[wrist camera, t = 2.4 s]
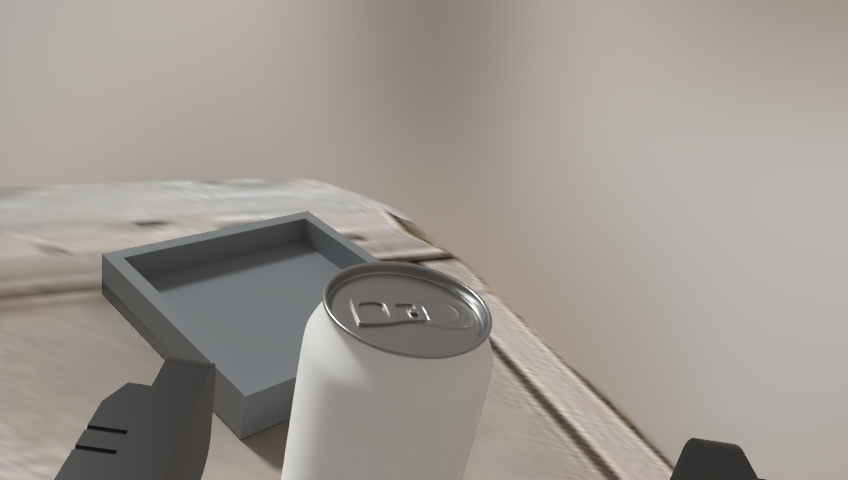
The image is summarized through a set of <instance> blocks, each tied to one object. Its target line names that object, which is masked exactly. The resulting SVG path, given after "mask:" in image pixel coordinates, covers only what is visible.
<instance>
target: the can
mask: <svg viewBox="0 0 848 480" xmlns="http://www.w3.org/2000/svg"><path fill="white" fill-rule="evenodd" d="M491 328H492V317H491V313H490V311H489V309H488V307H487V305H486V304H485V302H484V301H483V300H482V298H481V297H480V296H479V295H478V294H477V293H476V292H474V291H473V290H472V289H471V288H469V287H468V286H467V285H465V284H463V283H462V282H460V281H458V280H457V279H455V278H453V277H451V276H449V275H446V274H444V273H442V272H439V271H436V270H433V269H430V268H427V267H423V266H419V265H414V264H409V263H402V262H389V261H379V262H367V263H361V264H357V265H353V266H350V267H347V268H345V269H343V270H341V271H339V272H337V273H336V274H334V275H333V276H332V277H331V278H330V279H329V280H328V282H327V283H326V285H325V287H324V289H323V294H322V302H321V303H320V304H319V305H318V307H317V308H316V309H315V311H314V312H313V313H312V315H311V317H310V318H309V320H308V322H307V325H306V328H305V332H304V336H303V341H302V346H301V352H300V358H299V365H298V371H297V377H296V384H295V390H294V397H293V403H292V410H291V417H290V423H289V430H288V437H287V444H286V450H285V457H284V464H283V471H282V477H281V480H462V478H463V475H464V471H465V468H466V464H467V461H468V457H469V454H470V450H471V447H472V443H473V440H474V436H475V433H476V429H477V426H478V422H479V419H480V415H481V411H482V408H483V404H484V401H485V397H486V393H487V390H488V386H489V382H490V378H491V373H492V366H493V357H492V350H491V346H490V342H489V338H488V336H489V334H490V332H491Z"/></svg>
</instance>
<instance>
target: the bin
mask: <svg viewBox="0 0 848 480" xmlns="http://www.w3.org/2000/svg"><path fill="white" fill-rule="evenodd" d="M367 262H379V260H378V259H376V258H375V257H373V256H372V255H371V254H369V253H368V252H366V251H365V250H363V249H362V248H360V247H359V246H357V245H356V244H354V243H353V242H352V241H350V240H349V239H347V238H346V237H344V236H343V235H341V234H340V233H338V232H337V231H336V230H334V229H333V228H331V227H330V226H328V225H327V224H325V223H324V222H322V221H321V220H320V219H318V218H317V217H315V216H314V215H312V214H311V213H309V212H308V211H307V212H302V213H297V214H292V215H288V216H283V217H278V218H273V219H268V220H264V221H259V222H254V223H249V224H245V225H240V226H235V227H230V228H225V229H221V230H216V231H211V232H206V233H201V234H197V235H192V236H187V237H182V238H177V239H173V240H168V241H163V242H158V243H153V244H149V245H144V246H139V247H134V248H130V249H125V250H120V251H115V252H110V253H106V254H102V294H103V295H104V296H105V297H106V298H107V299H108V300H109V301H110V302H111V303H112V304H113V305H114V306H115V307H116V308H117V309H118V311H119V312H120V313H121V314H122V315H123V316H124V317H125V318H126V319H127V320H128V321H129V322H130V323H131V324H132V325H133V326H134V327H135V329H136V330H137V331H138V332H139V333H140V334H141V335H142V336H143V337H144V338H145V339H146V340H147V341H148V342H149V343H150V344H151V345H152V347H153V348H154V349H155V350H156V351H157V352H158V353H159V354H160V355H161V356H162V357H163V358H164V359H165V360H166V359H167V358H168V357H169V356H171V357H178V358H184V359H191V360H197V361H204V362H210V363H215V365H216V378H215V390H214V401H213V411H214V412H215V413H216V414H217V415H218V416H219V418H220V419H221V420H222V421H223V422H224V423H225V424H226V425H227V426H228V427H229V428H230V429H231V430H232V431H233V432H234V433H235V434H236V436H237V437H238V438H239V439H240V440H241V439H244V438H246V437H248V436H251V435H253V434H255V433H258V432H260V431H262V430H264V429H267V428H269V427H271V426H274V425H276V424H278V423H281V422H283V421H285V420H287V419H290V417H291V410H292V403H293V397H294V390H295V384H296V377H297V371H298V365H299V358H300V352H301V346H302V341H303V336H304V332H305V328H306V325H307V322H308V320H309V318H310V317H311V315H312V313H313V312H314V311H315V309H316V308H317V307H318V305H319V304H320V303H321V302H322V294H323V289H324V287H325V285H326V283H327V282H328V280H329V279H330V278H331V277H332V276H333V275H334V274H336V273H337V272H339V271H341V270H343V269H345V268H347V267H350V266H353V265H357V264H361V263H367Z"/></svg>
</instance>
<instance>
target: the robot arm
mask: <svg viewBox="0 0 848 480" xmlns="http://www.w3.org/2000/svg"><path fill="white" fill-rule="evenodd" d="M215 378H216V365H215V363H210V362H204V361H197V360H191V359H184V358H178V357H171V356H169V357H168V358H167V359H166V361H165V362H164V364H163V366H162V368H161V370H160V372H159V374H158V375H157V377H156V379H155V381H154V383H153V385H152V386H148V385H142V384H135V383H127V384H125V385H124V386H123V387H121V388H120V389H118V390H117V391H116V392H114V393H113V394H111V395H110V396H109V397H107V398H106V399H104V400H103V401H102V402H101V404H100V406H99V407H98V409H97V411H96V412H95V414H94V415H93V417H92V419H91V420H90V422H89V424H88V427H87V430H84V432H83V433H82V435H81V437H80V438H79V440H78V442H77V443H76V446H75V449H74V450H72V451H71V453H70V455H69V456H68V458H67V460H66V461H65V463H64V464H63V466H62V468H61V469H60V471H59V473H58V474H57V476H56V478H55V479H54V480H200V479H201V477H202V474H203V471H204V467H205V463H206V459H207V455H208V450H209V444H210V437H211V425H212V413H213V401H214V390H215ZM670 480H765V479H758V478H757V476H756V474H755V472H754V470H753V469H752V467H751V465H750V463H749V461H748V459H747V458H746V456H745V454H744V452H743V451H742V449H741V448H740V447H739V446H737V445H735V444H730V443H723V442H716V441H710V440H703V439H696V438H692V439H690V440H689V441H688V442H687V443H686V444H685V446H684V448H683V450H682V452H681V455H680V457H679V459H678V462H677V464H676V466H675V469H674V471H673V473H672V476H671V478H670Z"/></svg>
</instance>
